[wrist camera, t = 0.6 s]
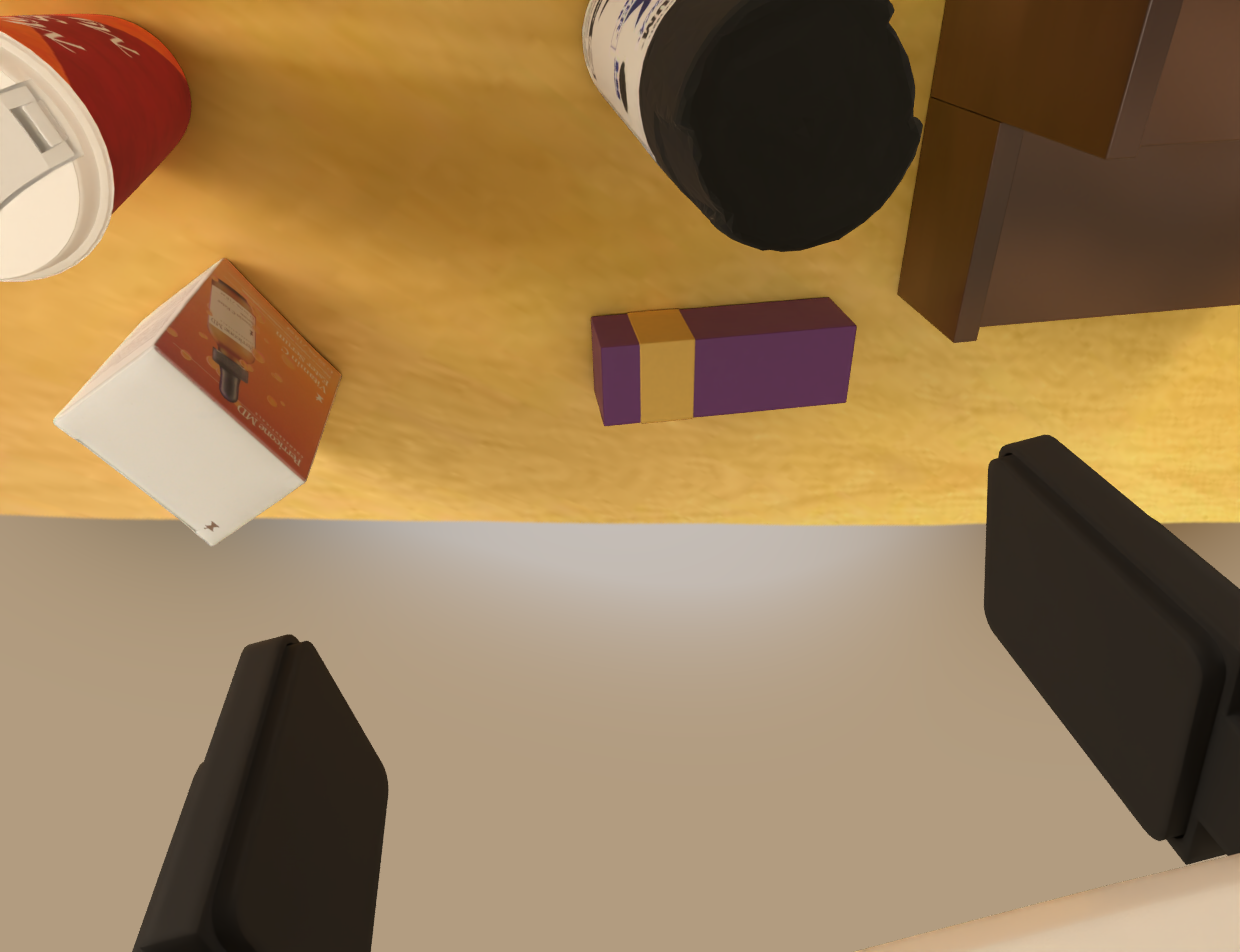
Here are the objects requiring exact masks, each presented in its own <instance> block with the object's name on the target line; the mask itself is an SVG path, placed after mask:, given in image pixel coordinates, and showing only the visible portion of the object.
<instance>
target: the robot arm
mask: <svg viewBox="0 0 1240 952" xmlns="http://www.w3.org/2000/svg"><path fill="white" fill-rule="evenodd" d="M984 610H985V615H986V618H987V621H988V624H989V626H990V628H991V630H992V631H993V633H994V634H995V635H996V636H997V638H998V639H999V641H1000V642H1001V643H1002V645H1003V646H1004V647H1005V648H1006V650H1007V651H1008V652H1009V654H1010V655H1011V656H1012V658H1013V659H1014V660H1015V662H1016V663H1017V664H1018V665H1019V667H1020V668H1021V669H1022V671H1023V672H1024V673H1025V675H1026V676H1027V677H1028V679H1029V680H1030V681H1031V682H1032V684H1033V685H1034V686H1035V688H1036V689H1037V690H1038V692H1039V693H1040V694H1041V696H1042V697H1043V698H1044V699H1045V701H1046V702H1047V703H1048V705H1049V706H1050V707H1051V709H1052V710H1053V711H1054V713H1055V714H1056V715H1057V716H1058V718H1059V719H1060V720H1061V722H1062V723H1063V724H1064V725H1065V727H1066V728H1067V730H1068V731H1069V732H1070V733H1071V735H1072V736H1073V737H1074V739H1075V740H1076V741H1077V743H1078V744H1079V745H1080V746H1081V748H1082V749H1083V750H1084V752H1085V753H1086V754H1087V756H1088V757H1089V758H1090V759H1091V761H1092V762H1093V763H1094V765H1095V766H1096V767H1097V769H1098V770H1099V771H1100V773H1101V774H1102V775H1103V776H1104V778H1105V779H1106V780H1107V782H1108V783H1109V784H1110V786H1111V787H1112V788H1113V789H1114V791H1115V792H1116V793H1117V795H1118V796H1119V797H1120V799H1121V800H1122V801H1123V803H1124V804H1125V805H1126V807H1127V808H1128V809H1129V811H1130V812H1131V813H1132V814H1133V816H1134V817H1135V818H1136V820H1137V821H1138V822H1139V823H1140V825H1141V826H1142V827H1143V829H1144V830H1145V831H1146V832H1147V833H1148V834H1149V835H1150V836H1151V837H1152V838H1154V839H1156V840H1158V841H1161V840H1165V839H1166V840H1167V841H1168V842H1169V844H1170V845H1171V846H1172V847H1173V849H1174V850H1175V851H1176V853H1177V854H1178V855H1179V856H1180V857H1181V859H1182V860H1183V862H1185V864H1186V865H1187V864H1191V863H1195V862H1198V861H1202V860H1206V859H1210V858H1214V857H1217V856H1221V855H1225V854H1227V855H1228V856H1226V857H1222V858H1218V859H1214V860H1210V861H1205V862H1202V863H1197V864H1193V865H1189V866H1185V867H1181V868H1177V869H1173V870H1168V871H1164V872H1160V873H1156V874H1152V875H1148V876H1143V877H1139V878H1135V879H1131V880H1127V881H1123V882H1119V883H1114V884H1111V885H1106V886H1103V887H1099V888H1095V889H1091V890H1087V891H1084V892H1080V893H1076V894H1072V895H1068V896H1064V897H1061V898H1057V899H1053V900H1049V901H1045V902H1041V903H1037V904H1034V905H1030V906H1026V907H1022V908H1019V909H1015V910H1011V911H1007V912H1003V913H999V914H995V915H991V916H988V917H984V918H980V919H976V920H972V921H969V922H965V923H961V924H957V925H953V926H950V927H946V928H942V929H938V930H934V931H930V932H926V933H923V934H919V935H915V936H911V937H908V938H904V939H900V940H896V941H892V942H888V943H885V944H881V945H877V946H873V947H870V948H866V949H862V950H858V951H855V952H1240V589H1239V588H1238V587H1236V586H1235V585H1234V584H1233V583H1232V582H1230V581H1229V580H1228V579H1227V578H1226V577H1224V576H1223V575H1222V574H1221V573H1219V572H1218V571H1217V570H1216V569H1215V568H1213V567H1212V566H1211V565H1210V564H1209V563H1207V562H1206V561H1205V560H1204V559H1203V558H1201V557H1200V556H1199V555H1198V554H1197V553H1195V552H1194V551H1193V550H1192V549H1190V548H1189V547H1188V546H1187V545H1186V544H1184V543H1183V542H1182V541H1181V540H1180V539H1178V538H1177V537H1176V536H1175V535H1173V534H1172V533H1171V532H1170V531H1169V530H1167V529H1166V528H1165V527H1164V526H1163V525H1161V524H1160V523H1159V522H1158V521H1156V520H1155V519H1153V518H1151V517H1150V516H1149V515H1147V514H1146V513H1145V512H1144V511H1143V510H1141V509H1140V508H1139V507H1138V506H1136V505H1135V504H1134V503H1133V502H1132V501H1130V500H1129V499H1128V498H1127V497H1126V496H1124V495H1123V494H1122V493H1121V492H1120V491H1118V490H1117V489H1116V488H1115V487H1113V486H1112V485H1111V484H1110V483H1109V482H1107V481H1106V480H1105V479H1104V478H1103V477H1101V476H1100V475H1099V474H1098V473H1097V472H1095V471H1094V470H1093V469H1092V468H1091V467H1089V466H1088V465H1087V464H1086V463H1084V462H1083V461H1082V460H1081V459H1080V458H1078V457H1077V456H1076V455H1075V454H1074V453H1072V452H1071V451H1070V450H1069V449H1068V448H1066V447H1065V446H1064V445H1063V444H1062V443H1060V442H1059V441H1058V440H1057V439H1055V438H1054V437H1052V436H1050V435H1041V436H1038V437H1034V438H1030V439H1026V440H1023V441H1019V442H1015V443H1011V444H1007V445H1005V446H1003V447H1002V448H1001V450H1000V452H999V457H998V458H997V459H993V460H992V461H991V462H990V464H989V468H988V490H987V523H986V557H985V588H984ZM387 800H388V780H387V775H386V772H385V769H384V766H383V764H382V763H381V761H380V759H379V757H378V755H377V754H376V752H375V750H374V749H373V747H372V745H371V743H370V742H369V740H368V738H367V737H366V735H365V733H364V731H363V730H362V728H361V726H360V724H359V723H358V721H357V719H356V718H355V716H354V714H353V712H352V711H351V709H350V707H349V705H348V704H347V702H346V700H345V699H344V697H343V696H342V694H341V692H340V690H339V688H338V687H337V685H336V683H335V681H334V680H333V678H332V676H331V675H330V673H329V671H328V669H327V668H326V666H325V664H324V662H323V661H322V659H321V657H320V656H319V654H318V652H317V651H316V649H315V647H314V646H313V644H312V643H310V642H309V641H304V642H299V641H298V639H297V638H296V637H294V636H293V635H284V636H280V637H277V638H273V639H269V640H265V641H261V642H257V643H254V644H250V645H248V646H246V647H245V648H244V650H243V652H242V653H241V656H240V659H239V662H238V665H237V668H236V671H235V674H234V676H233V679H232V683H231V685H230V688H229V691H228V694H227V697H226V700H225V703H224V705H223V708H222V711H221V714H220V717H219V720H218V723H217V726H216V728H215V731H214V734H213V737H212V740H211V743H210V746H209V749H208V752H207V754H206V757H205V760H204V762H203V763H202V764H201V765H200V766H199V768H198V770H197V772H196V774H195V776H194V778H193V781H192V784H191V786H190V789H189V792H188V795H187V798H186V801H185V803H184V806H183V809H182V812H181V815H180V818H179V821H178V824H177V826H176V829H175V832H174V835H173V838H172V840H171V843H170V846H169V849H168V852H167V855H166V857H165V860H164V863H163V866H162V869H161V872H160V874H159V877H158V880H157V883H156V886H155V889H154V891H153V894H152V897H151V900H150V903H149V906H148V909H147V911H146V914H145V917H144V920H143V923H142V925H141V928H140V931H139V934H138V937H137V940H136V943H135V945H134V948H133V951H132V952H371V944H372V935H373V926H374V917H375V916H374V915H375V908H376V899H377V889H378V881H379V872H380V863H381V854H382V845H383V835H384V826H385V818H386V808H387Z"/></svg>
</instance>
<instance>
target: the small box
mask: <svg viewBox="0 0 1240 952" xmlns="http://www.w3.org/2000/svg"><path fill="white" fill-rule="evenodd" d="M341 377H342V376H341V374H340V373H339V372H338V371H337V370H336V369H335V368H334V367H333V366H332V365H331V364H330V363H329V362H328V361H326V360H325V359H324V358H323V357H322V356H321V355H320V354H319V353H318V352H317V351H316V350H315V349H314V348H313V347H312V346H311V345H310V344H309V343H308V342H307V341H306V340H305V339H304V338H303V337H302V336H301V335H300V334H299V333H298V332H297V331H296V330H295V329H294V328H293V327H292V326H291V325H290V324H289V323H288V322H287V321H286V320H285V319H284V317H283V316H282V315H281V314H280V313H279V312H278V311H277V310H276V309H275V308H274V307H273V306H272V305H271V304H270V303H269V302H268V301H267V300H266V299H265V298H264V297H263V296H262V295H261V294H260V293H259V292H258V291H257V290H256V289H255V288H254V287H253V286H252V285H251V284H250V283H249V282H248V281H247V279H246V278H245V277H244V276H243V275H242V274H241V273H240V272H239V271H238V270H237V269H236V268H235V267H234V266H233V265H232V264H231V263H230V262H229V261H228V260H227V259H221V260H219V261H218V262H216V263H215V264H214V265H212V266H211V267H210V268H208V269H207V270H206V271H204V272H203V273H202V274H201V275H199V276H198V277H197V278H195V279H194V280H193V281H191V282H190V283H189V284H188V285H186V286H185V287H184V288H182V289H181V290H180V291H179V292H177V293H176V294H175V295H173V296H172V297H171V298H170V299H168V300H167V301H166V302H165V303H163V304H162V305H161V306H159V307H158V308H157V309H156V310H154V311H153V312H152V313H151V314H150V315H148V316H147V317H146V318H144V319H143V320H142V321H141V322H140V323H139V325H138V326H137V327H136V328H135V329H134V330H133V331H132V332H131V334H130V335H129V336H128V337H127V338H126V339H125V340H124V341H123V342H122V344H121V345H120V346H119V347H118V348H117V349H116V350H115V351H114V352H113V353H112V355H111V356H110V357H109V358H108V359H107V360H106V361H105V362H104V363H103V365H102V366H101V367H100V368H99V369H98V370H97V371H96V373H95V374H94V375H93V376H92V377H91V378H90V379H89V380H88V382H87V383H86V384H85V385H84V386H83V387H82V388H81V389H80V391H79V392H78V393H77V394H76V395H75V396H74V397H73V398H72V399H71V401H70V402H69V403H68V404H67V405H66V406H65V407H64V408H63V409H62V410H61V411H60V412H59V413H58V415H57V416H56V417H55V418H54V420H53V423H54V425H56V426H57V427H58V428H60V429H61V430H63V431H64V432H65V433H66V434H68V435H69V436H70V437H72V438H74V439H75V440H77V441H78V442H80V443H81V444H82V445H84V446H85V447H86V448H88V449H89V450H90V451H92V452H93V453H94V454H96V455H97V456H98V457H100V458H101V459H102V460H103V461H105V462H106V463H107V464H109V465H110V466H111V467H113V468H114V469H115V470H117V471H118V472H119V473H120V474H122V475H123V476H124V477H126V478H127V479H128V480H129V481H131V482H132V483H133V484H135V485H136V486H137V487H138V488H140V489H141V490H142V491H144V492H145V493H146V494H148V495H149V496H150V497H151V498H153V499H154V500H155V501H156V502H158V503H159V504H160V505H162V506H163V507H164V508H165V509H167V510H168V511H169V512H170V513H172V514H173V515H174V516H175V517H177V518H178V519H179V520H180V521H182V522H183V523H184V524H185V525H187V526H188V527H189V528H190V529H191V530H193V532H195V534H197V535H198V536H199V537H201V538H202V539H203V540H204V541H205V542H206V543H207V544H208V545H210V546H214V545H216V544H217V543H219V542H220V541H222V540H223V539H225V538H226V537H227V536H229V535H230V534H232V533H233V532H235V531H236V530H237V529H239V528H240V527H242V526H243V525H245V524H246V523H247V522H249V521H251V520H252V519H253V518H255V517H256V516H258V515H259V514H261V513H262V512H263V511H265V510H266V509H268V508H269V507H271V506H272V505H274V504H275V503H277V502H278V501H279V500H281V499H282V498H284V497H285V496H287V495H288V494H289V493H291V492H292V491H294V490H295V489H296V488H298V487H299V486H301V485H302V484H304V483H305V482H306V480H307V478H308V475H309V472H310V469H311V466H312V463H313V460H314V458H315V455H316V452H317V449H318V446H319V443H320V440H321V437H322V434H323V431H324V428H325V425H326V422H327V419H328V416H329V413H330V410H331V408H332V405H333V402H334V398H335V396H336V392H337V390H338V387H339V384H340V381H341Z"/></svg>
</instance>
